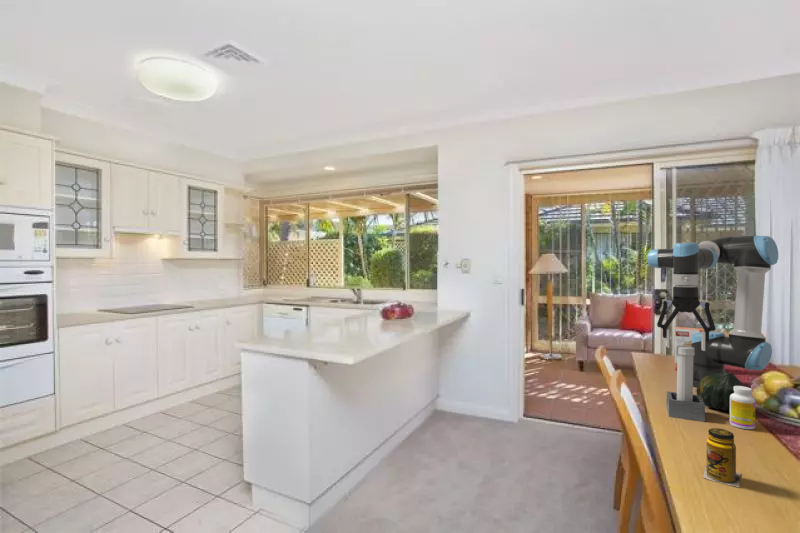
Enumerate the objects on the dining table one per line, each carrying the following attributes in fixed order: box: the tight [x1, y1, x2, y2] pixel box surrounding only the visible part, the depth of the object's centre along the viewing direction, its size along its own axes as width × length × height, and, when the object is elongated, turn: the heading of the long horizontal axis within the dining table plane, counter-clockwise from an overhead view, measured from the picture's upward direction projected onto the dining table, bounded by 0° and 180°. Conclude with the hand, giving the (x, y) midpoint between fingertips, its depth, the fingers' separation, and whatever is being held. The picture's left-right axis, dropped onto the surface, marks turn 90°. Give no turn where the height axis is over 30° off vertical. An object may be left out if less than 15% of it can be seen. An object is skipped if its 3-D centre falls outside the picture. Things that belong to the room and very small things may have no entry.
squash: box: [695, 371, 746, 413], centre depth 156 cm, size 14×15×15 cm
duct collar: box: [666, 391, 706, 422], centre depth 151 cm, size 10×10×6 cm
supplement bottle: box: [729, 385, 756, 431], centre depth 140 cm, size 7×7×13 cm
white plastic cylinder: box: [676, 331, 695, 402], centre depth 151 cm, size 6×6×30 cm
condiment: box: [702, 427, 741, 488], centre depth 109 cm, size 7×8×12 cm
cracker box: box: [674, 326, 704, 371], centre depth 206 cm, size 14×6×21 cm, turn 58°
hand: (685, 348), depth 150 cm, fingers open, 10 cm apart
